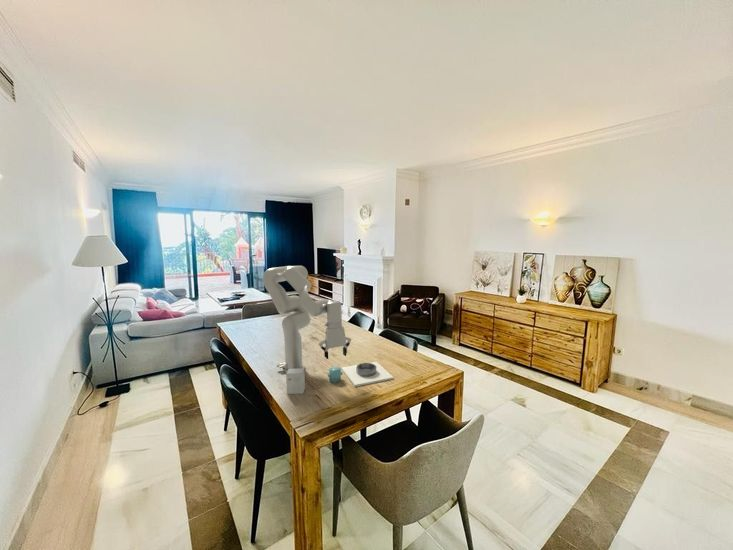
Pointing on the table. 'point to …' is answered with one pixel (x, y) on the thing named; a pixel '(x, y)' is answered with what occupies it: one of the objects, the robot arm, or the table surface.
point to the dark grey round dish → (366, 372)
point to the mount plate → (359, 380)
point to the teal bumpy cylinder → (334, 374)
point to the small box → (295, 381)
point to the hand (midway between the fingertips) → (335, 356)
